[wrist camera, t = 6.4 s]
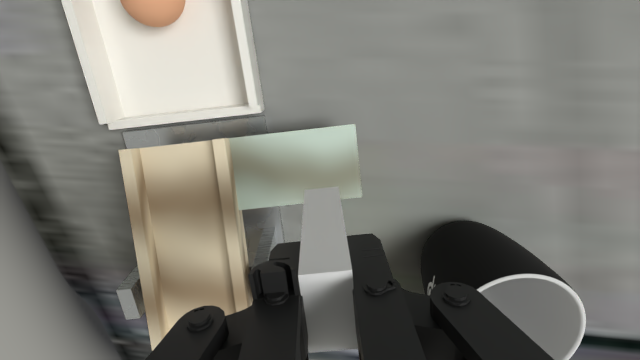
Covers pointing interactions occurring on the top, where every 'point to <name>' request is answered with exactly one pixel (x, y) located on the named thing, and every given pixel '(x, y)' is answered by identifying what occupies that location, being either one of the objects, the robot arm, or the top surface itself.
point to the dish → (167, 62)
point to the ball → (154, 11)
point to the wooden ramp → (220, 210)
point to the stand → (258, 222)
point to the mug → (507, 283)
